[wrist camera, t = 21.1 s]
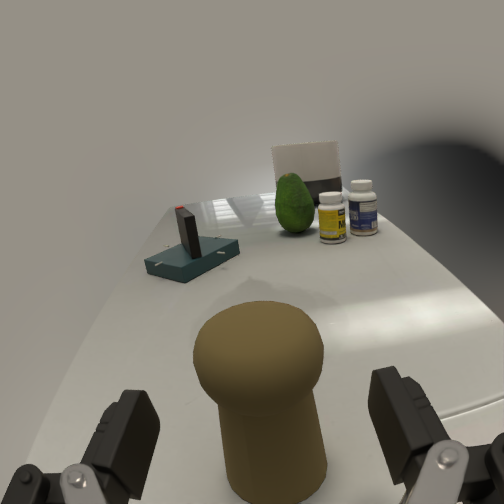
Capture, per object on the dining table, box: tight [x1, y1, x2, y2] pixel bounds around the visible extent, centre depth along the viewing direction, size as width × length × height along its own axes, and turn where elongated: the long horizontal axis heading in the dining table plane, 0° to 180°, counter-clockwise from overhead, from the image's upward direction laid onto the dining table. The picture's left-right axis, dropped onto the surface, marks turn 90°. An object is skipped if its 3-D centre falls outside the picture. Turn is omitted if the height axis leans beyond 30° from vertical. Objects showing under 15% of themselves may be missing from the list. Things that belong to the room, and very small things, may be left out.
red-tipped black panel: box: [175, 206, 202, 259], centre depth 50 cm, size 11×2×7 cm, turn 21°
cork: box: [193, 301, 327, 504], centre depth 13 cm, size 6×6×11 cm
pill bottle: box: [348, 180, 377, 236], centre depth 54 cm, size 5×5×10 cm
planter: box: [271, 141, 342, 205], centre depth 86 cm, size 19×19×18 cm
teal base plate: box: [144, 235, 240, 283], centre depth 51 cm, size 15×15×3 cm
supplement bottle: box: [318, 192, 346, 244], centre depth 52 cm, size 5×5×8 cm
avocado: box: [275, 173, 315, 232], centre depth 59 cm, size 8×8×12 cm
